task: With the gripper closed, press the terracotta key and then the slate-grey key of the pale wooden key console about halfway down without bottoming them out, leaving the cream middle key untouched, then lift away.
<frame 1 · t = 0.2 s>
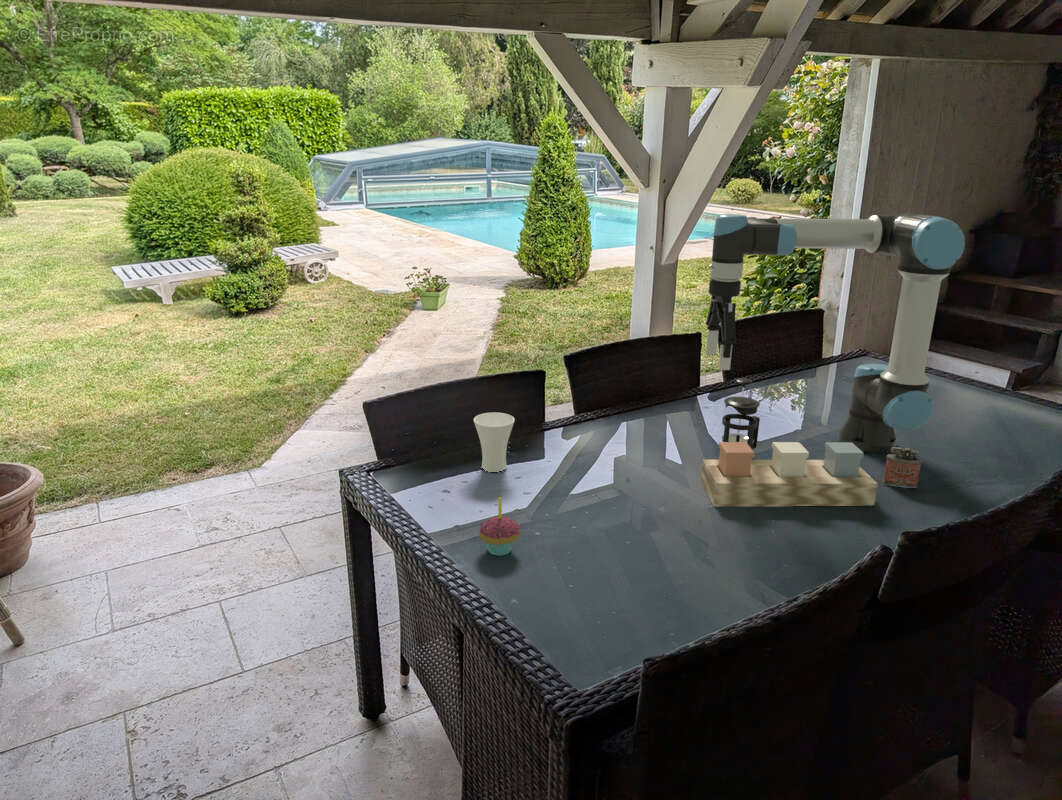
hand: (717, 362, 196), 28 cm above the table, tool pointing down, fingers open, 13 cm apart
terracotta key: (735, 459, 184), point 9 cm above the table, slide at 0.0 cm
french press: (736, 461, 206), on the table
cupcake: (500, 551, 160), on the table
lighter: (899, 485, 193), on the table
slate key: (842, 459, 185), point 9 cm above the table, slide at 0.0 cm
cup: (494, 468, 200), on the table
cream key: (788, 459, 185), point 9 cm above the table, slide at 0.0 cm
key console: (784, 493, 188), on the table
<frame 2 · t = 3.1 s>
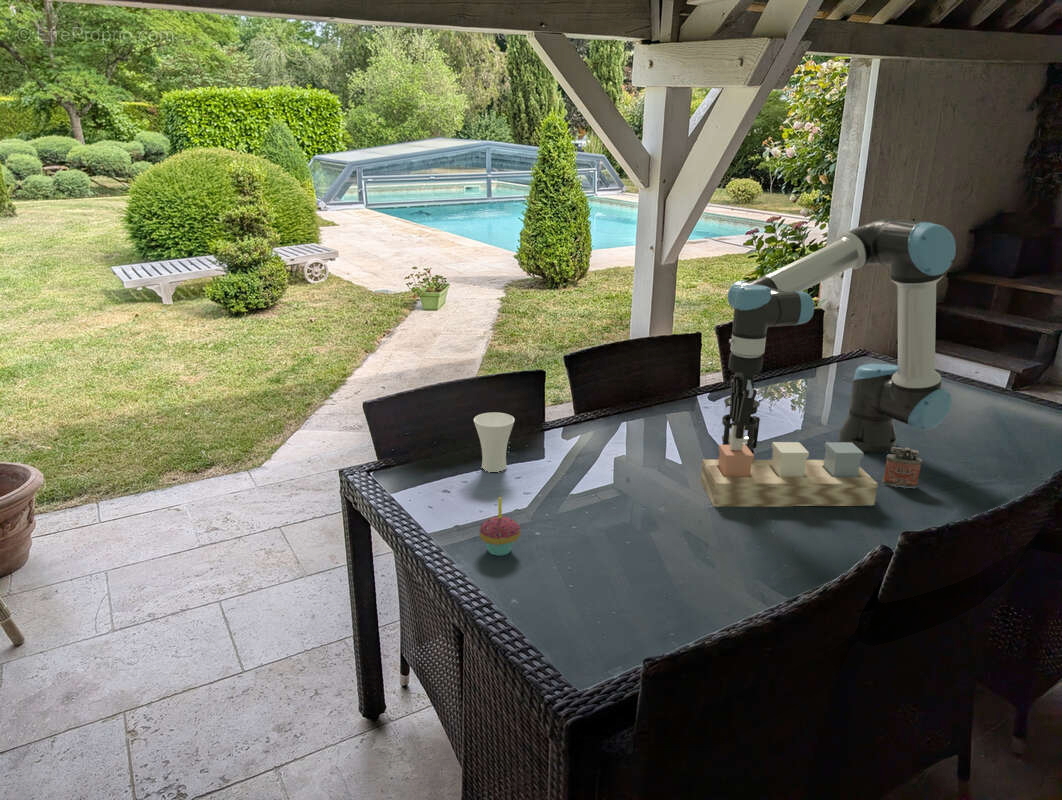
hand: (735, 449, 183), 12 cm above the table, tool pointing down, fingers closed
terracotta key: (734, 462, 184), point 8 cm above the table, slide at 0.7 cm, touching gripper
everything else where it was.
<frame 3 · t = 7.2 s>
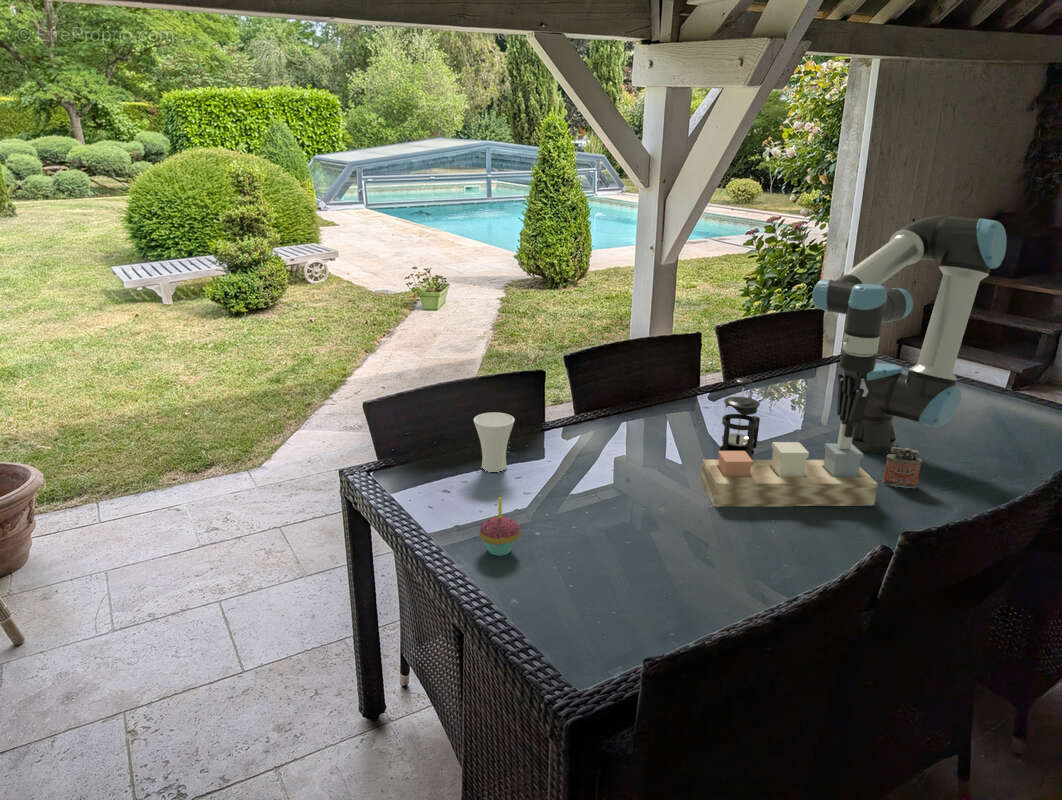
hand: (843, 447, 184), 12 cm above the table, tool pointing down, fingers closed
terracotta key: (734, 468, 185), point 7 cm above the table, slide at 2.3 cm
slate key: (842, 460, 185), point 9 cm above the table, slide at 0.3 cm, touching gripper
everything else where it was.
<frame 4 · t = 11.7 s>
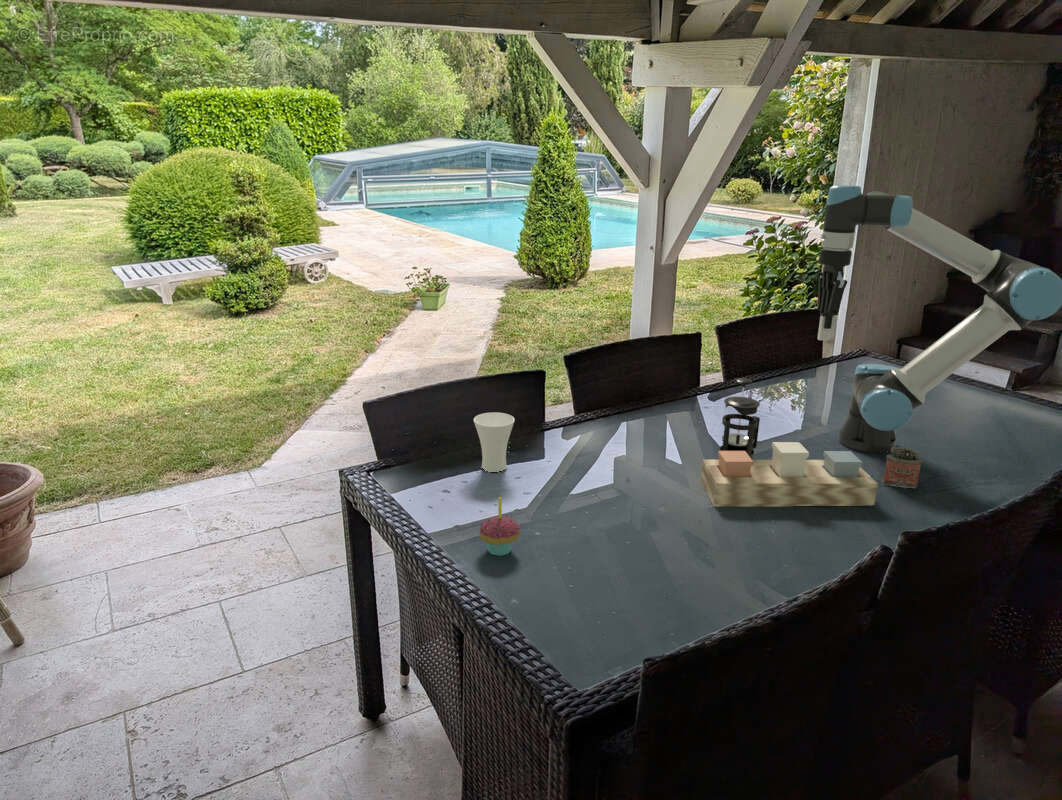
hand: (823, 339, 201), 32 cm above the table, tool pointing down, fingers closed
slate key: (840, 468, 186), point 7 cm above the table, slide at 2.3 cm
everything else where it was.
at the end: terracotta key slide at 2.3 cm; slate key slide at 2.3 cm; cream key slide at 0.0 cm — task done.
